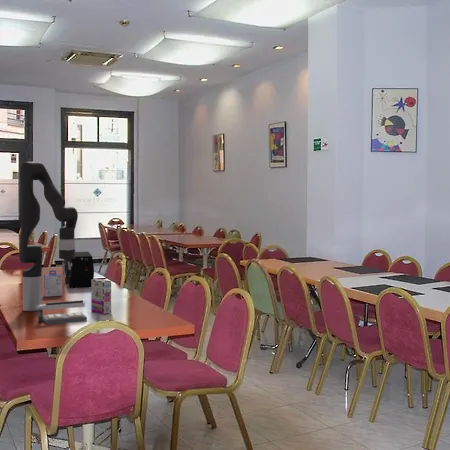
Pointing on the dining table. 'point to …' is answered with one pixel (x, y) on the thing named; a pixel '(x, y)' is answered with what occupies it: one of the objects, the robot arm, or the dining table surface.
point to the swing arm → (61, 305)
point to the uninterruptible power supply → (82, 270)
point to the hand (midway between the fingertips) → (67, 284)
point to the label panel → (64, 318)
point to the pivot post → (40, 316)
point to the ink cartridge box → (53, 284)
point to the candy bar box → (101, 296)
